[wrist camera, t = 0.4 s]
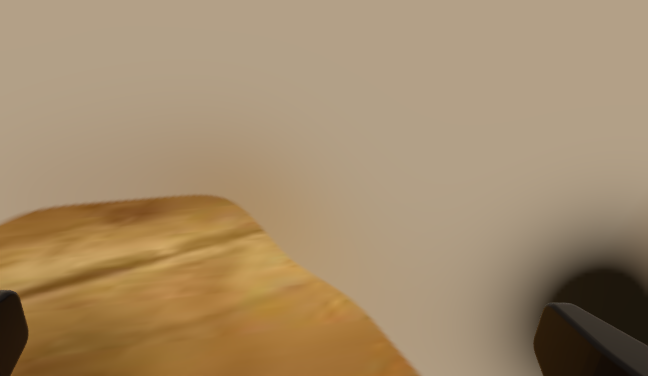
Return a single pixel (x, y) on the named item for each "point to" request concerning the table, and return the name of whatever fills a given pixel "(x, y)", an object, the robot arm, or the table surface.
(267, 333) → the table surface
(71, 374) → the table surface
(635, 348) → the robot arm
